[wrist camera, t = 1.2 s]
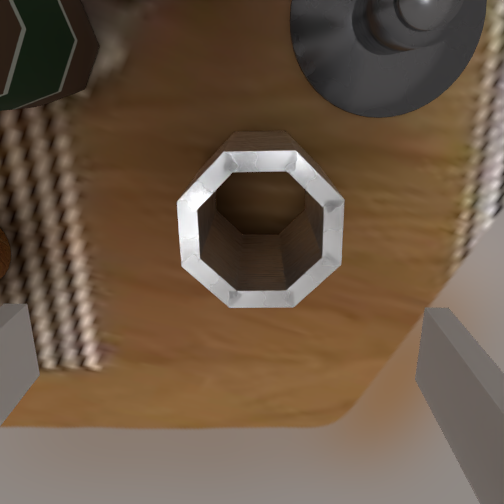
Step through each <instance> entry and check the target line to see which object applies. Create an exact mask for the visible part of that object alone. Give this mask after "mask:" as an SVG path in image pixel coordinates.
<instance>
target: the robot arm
mask: <svg viewBox="0 0 504 504" xmlns="http://www.w3.org/2000/svg"><path fill="white" fill-rule="evenodd" d="M39 375H40V374H39V368H38V363H37V357H36V351H35V346H34V340H33V334H32V329H31V323H30V317H29V312H28V306H27V304H3V305H2V306H1V307H0V426H1V424H2V423H3V422H4V421H5V419H6V418H7V417H8V415H9V414H10V413H11V411H12V410H13V409H14V408H15V406H16V405H17V404H18V402H19V401H20V400H21V398H22V397H23V396H24V395H25V393H26V392H27V391H28V389H29V388H30V387H31V385H32V384H33V383H34V382H35V380H36V379H37V378H38V376H39ZM415 380H416V382H417V384H418V386H419V388H420V390H421V391H422V394H423V395H424V397H425V399H426V401H427V403H428V405H429V407H430V409H431V411H432V413H433V415H434V416H435V418H436V420H437V422H438V424H439V426H440V428H441V430H442V432H443V434H444V436H445V438H446V439H447V441H448V443H449V445H450V447H451V449H452V451H453V453H454V455H455V457H456V458H457V460H458V462H459V464H460V466H461V468H462V470H463V472H464V474H465V476H466V478H467V480H468V482H469V483H470V485H471V487H472V489H473V491H474V493H475V495H476V496H477V499H478V500H479V502H480V504H504V373H503V372H502V371H501V369H500V368H499V367H498V366H497V365H496V363H495V362H494V361H493V360H492V359H491V358H490V356H489V355H488V354H487V353H486V352H485V350H484V349H483V348H482V347H481V346H480V345H479V343H478V342H477V341H476V340H475V339H474V338H473V336H472V335H471V334H470V333H469V331H468V330H467V329H466V328H465V327H464V326H463V324H462V323H461V322H460V321H459V320H458V319H457V317H456V316H455V315H454V314H453V313H452V311H451V310H450V309H449V308H425V311H424V318H423V326H422V333H421V341H420V349H419V355H418V362H417V369H416V377H415Z"/></svg>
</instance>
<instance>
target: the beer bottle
mask: <svg viewBox="0 0 504 504" xmlns="http://www.w3.org/2000/svg"><path fill="white" fill-rule="evenodd" d="M98 48H99V44H98V42H97V40H96V37H95V35H94V32H93V30H92V28H91V25H90V23H89V20H88V18H87V16H86V13H85V11H84V9H83V6H82V4H81V1H80V0H0V111H2V110H12V109H21V108H30V107H36V106H41V105H45V104H48V103H50V102H53V101H55V100H58V99H61V98H63V97H66V96H68V95H71V94H73V93H76V92H79V91H81V90H84V89H85V87H86V84H87V81H88V78H89V75H90V72H91V69H92V66H93V63H94V60H95V57H96V54H97V51H98Z"/></svg>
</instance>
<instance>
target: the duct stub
mask: <svg viewBox="0 0 504 504" xmlns="http://www.w3.org/2000/svg"><path fill="white" fill-rule="evenodd" d="M486 2H487V0H292V3H291V12H290V31H291V39H292V45H293V49H294V52H295V55H296V59H297V61H298V63H299V66H300V68H301V70H302V72H303V73H304V75H305V77H306V78H307V80H308V82H309V83H310V84H311V85H312V86H313V88H314V89H315V90H316V91H317V92H318V93H319V94H320V95H321V96H322V97H323V98H324V99H326V100H327V101H329V102H330V103H332V104H333V105H335V106H337V107H339V108H341V109H343V110H345V111H348V112H350V113H353V114H356V115H361V116H366V117H392V116H397V115H401V114H405V113H408V112H411V111H414V110H416V109H418V108H420V107H422V106H424V105H426V104H428V103H429V102H431V101H432V100H434V99H435V98H437V97H438V96H440V95H441V94H442V93H443V92H444V91H445V90H447V89H448V88H449V87H450V86H451V85H452V84H453V82H454V81H455V80H456V79H457V78H458V77H459V76H460V74H461V73H462V72H463V70H464V69H465V67H466V66H467V64H468V62H469V61H470V59H471V57H472V56H473V53H474V51H475V49H476V47H477V44H478V42H479V39H480V36H481V33H482V30H483V25H484V20H485V15H486Z"/></svg>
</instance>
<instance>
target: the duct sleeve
mask: <svg viewBox="0 0 504 504" xmlns="http://www.w3.org/2000/svg"><path fill="white" fill-rule="evenodd" d="M277 171H287V172H288V173H289V174H290V175H291V176H292V177H293V178H294V179H295V180H296V181H297V182H298V183H299V184H300V185H301V186H302V187H303V188H304V189H305V209H304V210H303V211H302V212H301V213H300V214H299V215H298V216H297V217H296V218H295V219H294V220H293V221H292V222H291V223H290V224H289V225H288V226H287V227H286V228H285V229H284V230H283V231H282V232H281V233H280V234H242V233H241V232H240V231H239V230H238V229H237V228H236V227H234V226H233V225H232V224H231V223H230V222H229V221H228V220H227V219H226V218H225V217H224V216H222V215H221V214H220V213H219V212H218V211H217V207H216V189H217V188H218V187H219V186H220V185H221V184H222V183H223V182H224V181H225V180H226V179H227V178H228V177H229V176H230V175H231V174H232V173H233V172H277ZM177 212H178V225H179V239H180V252H181V265H182V267H183V268H184V269H185V270H186V271H188V272H189V273H190V274H191V275H192V276H193V277H194V278H196V279H197V280H198V281H199V282H200V283H201V284H203V285H204V286H205V287H206V288H207V289H208V290H210V291H211V292H212V293H213V294H214V295H215V296H217V297H218V298H219V299H220V300H221V301H222V302H223V303H225V304H226V305H227V306H228V307H229V308H271V307H295V306H296V305H297V304H298V303H299V302H300V301H301V300H302V299H303V298H305V297H306V296H307V295H308V294H309V293H310V292H311V291H312V290H313V289H315V288H316V287H317V286H318V285H319V284H320V283H321V282H322V281H323V280H325V279H326V278H327V277H328V276H329V275H330V274H331V273H332V272H334V271H335V270H336V269H337V268H338V267H339V266H340V265H341V259H342V238H343V218H344V198H343V197H342V195H341V194H340V193H339V191H338V190H337V189H336V187H335V186H334V184H333V183H332V182H331V180H330V179H329V177H328V176H327V175H326V173H325V172H324V171H323V169H322V168H321V166H320V165H319V164H318V163H317V162H316V161H315V160H314V159H313V158H312V157H311V156H310V155H309V154H308V153H307V152H306V151H305V150H304V149H303V148H302V147H301V146H300V145H299V144H298V143H297V142H296V141H295V140H294V139H293V138H292V137H291V136H290V135H289V134H288V133H287V132H286V131H237V132H235V131H234V133H233V134H232V135H231V136H230V137H229V138H228V139H227V140H226V141H225V142H224V143H223V144H222V145H221V147H220V148H219V149H218V150H217V151H216V152H215V153H214V154H213V155H212V156H211V157H210V158H209V160H208V161H207V162H206V163H205V164H204V165H203V166H202V167H201V168H200V169H199V171H198V172H197V174H196V175H195V177H194V178H193V179H192V181H191V182H190V184H189V185H188V187H187V188H186V189H185V191H184V192H183V194H182V195H181V197H180V198H179V199H178V201H177Z"/></svg>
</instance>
